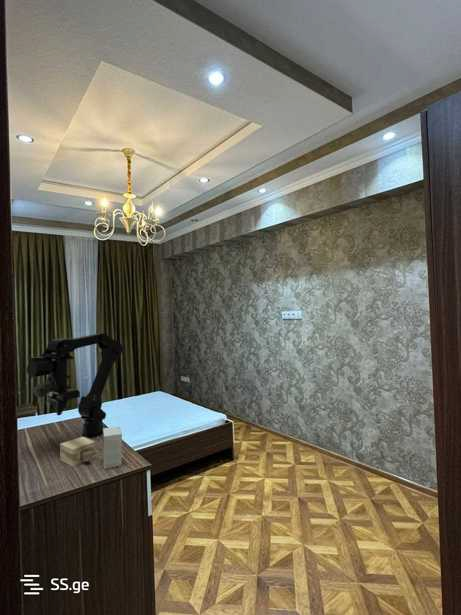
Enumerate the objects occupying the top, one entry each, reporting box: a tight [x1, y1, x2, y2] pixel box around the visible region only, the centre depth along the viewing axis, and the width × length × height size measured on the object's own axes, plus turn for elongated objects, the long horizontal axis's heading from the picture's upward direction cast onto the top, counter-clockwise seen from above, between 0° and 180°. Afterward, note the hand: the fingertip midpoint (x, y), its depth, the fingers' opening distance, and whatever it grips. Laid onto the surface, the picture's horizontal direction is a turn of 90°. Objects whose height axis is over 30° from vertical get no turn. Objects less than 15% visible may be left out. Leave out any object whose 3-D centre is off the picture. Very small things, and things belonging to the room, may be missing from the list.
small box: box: [102, 425, 123, 470], centre depth 106 cm, size 8×6×10 cm
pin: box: [80, 449, 94, 462], centre depth 109 cm, size 4×12×4 cm, turn 54°
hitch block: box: [59, 436, 97, 467], centre depth 109 cm, size 8×8×6 cm
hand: (59, 415), depth 119 cm, fingers closed
